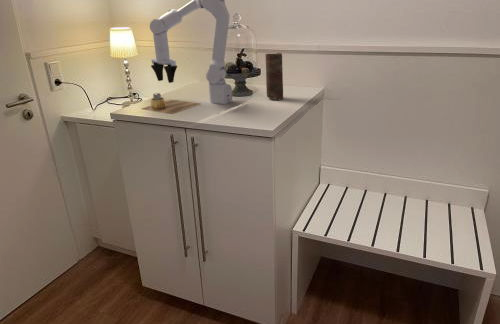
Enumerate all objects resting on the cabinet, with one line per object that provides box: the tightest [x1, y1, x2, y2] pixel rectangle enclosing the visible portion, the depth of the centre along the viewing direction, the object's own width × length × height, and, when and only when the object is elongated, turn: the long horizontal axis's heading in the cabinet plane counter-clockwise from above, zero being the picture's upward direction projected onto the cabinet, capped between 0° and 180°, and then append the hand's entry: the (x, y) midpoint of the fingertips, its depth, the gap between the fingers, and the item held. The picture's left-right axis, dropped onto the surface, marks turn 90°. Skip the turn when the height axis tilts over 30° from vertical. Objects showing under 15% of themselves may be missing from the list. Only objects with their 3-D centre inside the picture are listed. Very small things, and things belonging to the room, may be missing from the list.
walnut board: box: [140, 99, 201, 115], centre depth 158 cm, size 18×18×1 cm
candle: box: [265, 52, 284, 101], centre depth 164 cm, size 8×7×20 cm
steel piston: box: [152, 92, 162, 100], centre depth 156 cm, size 3×3×6 cm
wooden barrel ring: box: [150, 96, 166, 109], centre depth 156 cm, size 5×5×4 cm
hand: (165, 81), depth 164 cm, fingers open, 7 cm apart
